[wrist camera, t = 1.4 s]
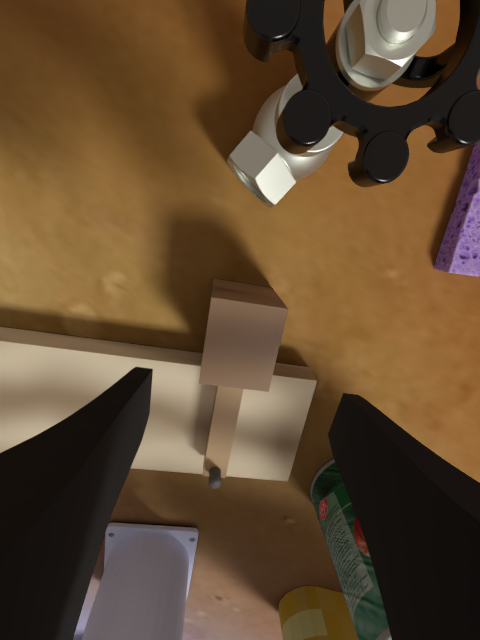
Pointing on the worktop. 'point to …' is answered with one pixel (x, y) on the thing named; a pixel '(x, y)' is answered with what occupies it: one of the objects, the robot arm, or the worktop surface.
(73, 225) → the worktop surface
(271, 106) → the valve
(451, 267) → the sponges
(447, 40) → the worktop surface
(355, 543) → the canned tomato
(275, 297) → the mallet
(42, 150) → the worktop surface
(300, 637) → the book
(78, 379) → the board
